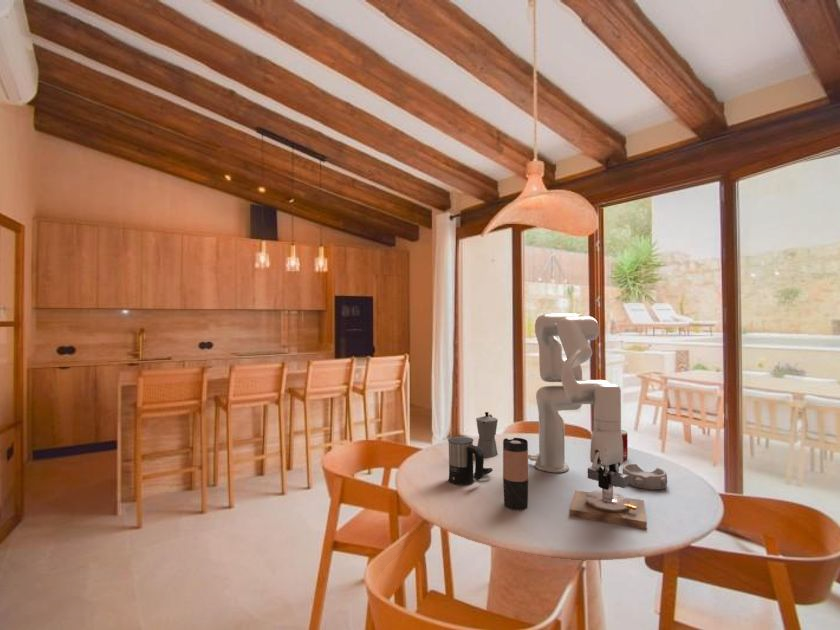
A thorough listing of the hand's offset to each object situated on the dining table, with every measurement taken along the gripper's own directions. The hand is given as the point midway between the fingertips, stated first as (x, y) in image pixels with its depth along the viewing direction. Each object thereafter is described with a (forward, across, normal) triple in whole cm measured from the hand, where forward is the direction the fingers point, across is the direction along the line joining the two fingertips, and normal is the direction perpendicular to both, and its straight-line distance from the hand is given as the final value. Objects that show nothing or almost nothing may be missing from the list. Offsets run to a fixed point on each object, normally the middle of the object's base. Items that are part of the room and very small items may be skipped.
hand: (608, 486), depth 133 cm
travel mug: (+8, +20, -18) cm, 28 cm away
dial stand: (+8, 0, 0) cm, 8 cm away
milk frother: (+8, +17, -44) cm, 48 cm away
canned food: (+8, -50, -30) cm, 59 cm away
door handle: (+5, 0, +1) cm, 5 cm away
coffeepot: (+8, -8, -64) cm, 65 cm away
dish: (+8, -31, -7) cm, 33 cm away
